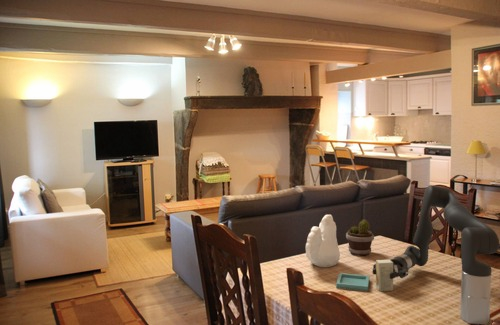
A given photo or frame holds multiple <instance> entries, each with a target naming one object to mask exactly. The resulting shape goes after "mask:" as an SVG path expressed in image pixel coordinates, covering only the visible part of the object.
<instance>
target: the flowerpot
mask: <svg viewBox="0 0 500 325" xmlns="http://www.w3.org/2000/svg"><path fill="white" fill-rule="evenodd" d="M370 226H371V225H370V222H368V221H367V219H365V218H364V219H363V218H362V220H361V221H360V222H359V223H358V227H357V226H356V225H353V226H352V227H350V229H348V230H347V232H346V233H345V238H346V240H347V242H348V247H347V248H348V251H349V253H350V254H352V255H354V256H369V254H370V253H371V251H372V243H373V241H374V240H375V235H374V234H373V232H372V231H370V230H369V229H370Z"/></svg>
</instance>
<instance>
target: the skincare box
mask: <svg viewBox="0 0 500 325" xmlns="http://www.w3.org/2000/svg"><path fill="white" fill-rule="evenodd" d="M390 259H391V258H390ZM390 259H376V260H375V264H376V274H375V288H376V289H377V290H378V291H379V292H386V291H394V278H393V279H390V273H392V272H393V262H392V261H391V260H390Z"/></svg>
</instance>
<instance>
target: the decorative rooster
mask: <svg viewBox="0 0 500 325" xmlns="http://www.w3.org/2000/svg"><path fill="white" fill-rule="evenodd" d="M305 257H306V258H307V259H308V260H309V261H310V263H311V264H312V265H314V266H317V267H319V268H321V267H322V268H331V267H333V266H336V265H337V264H338V263H339V261H340V259H341V251H340V248H339V244H338V239H337V225H336V222H335V221H334V218H333V215H332V214H325V215H324V216H323V217H322V219H321V221H320V222H319V226H312V227H311V228H310V232H309V233H308V236H307V239H306V243H305Z"/></svg>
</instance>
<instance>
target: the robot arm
mask: <svg viewBox="0 0 500 325" xmlns="http://www.w3.org/2000/svg"><path fill="white" fill-rule="evenodd" d="M424 190H425V191H424V193H423V197H422V202H421V206H420V207H421V208H420V213H419V218H418V224H417V227H416V231H415V233H414V235H413V239H412V241H413V244H414V246H413V245H409V246H407V247H406V249H405V251H404V252H403V253H402V254H399V255H396V256H394V257H392V258H390V260H391V261H392V262H393V272H392V273H390V279H393V280H394V279H395V278H400V279H403V278H405V277H407V276H409V271H410V269H412V268H414V267H415V266H418V267H424V266H425V265H426V264H427V263H428V261H429V248H430V247H429V246H430V242H431V239H432V237H433V233H434V227H433V223H432V220H431V216H430V210H431V207H434V208H441V209H443V214H442V215H443V218H444V220H445V221H446V222H447V224H448V225H449V226H450V227H451V228H453V229H454V230H456V231H458V232H460V233H461V236H460V246H461V247H460V250H461V252H460V254H461V257H460V260H461V281H460V282H461V284H460V285H461V286H460V313H459V315H460V316H459V317H460V318H461V319H462V321H465V322H466V323H467V324H471V325H479V324H486V325H488V324H489V323H488V322H490V316H491V314H490V313H491V294H492V293H491V291H492V290H491V289H492V287H491V286H492V270H493V269H492V266H491V265H489V263H487V262H484V261H482V260H478V259H476V255H492V254H495V253H497V252H498V251H499V248H500V239H499V236H498V234H497V233H496V231H495V230H494V229H493V228H492V227H490V226H488V224H486V223H484V222H483V221H481V220H480V219H479V218H477V216H476V215H475V214H473V213H472V212H471V211H470V210H469V209H468V208H467V207H466V206H465V205H464V204H463V203H461V201H460V200H459V199H458V198H457V197H456V195H455V194H454V193H453V191H452V190H451V188H448V187H445V186H443V187H442V186H437V185H434V184H433V185H431V184H430V185H428V186H427V187H426V188H425V189H424ZM372 266H373V267H372V275H376V263H374V264H373V265H372Z"/></svg>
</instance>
